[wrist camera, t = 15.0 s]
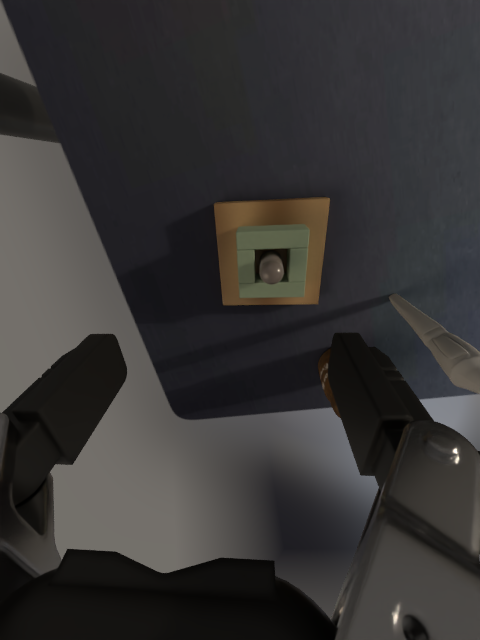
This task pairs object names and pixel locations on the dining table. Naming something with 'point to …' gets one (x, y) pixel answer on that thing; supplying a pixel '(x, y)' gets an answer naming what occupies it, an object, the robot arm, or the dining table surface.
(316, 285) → the base pad
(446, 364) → the pen
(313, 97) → the dining table surface
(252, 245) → the green square ring block
